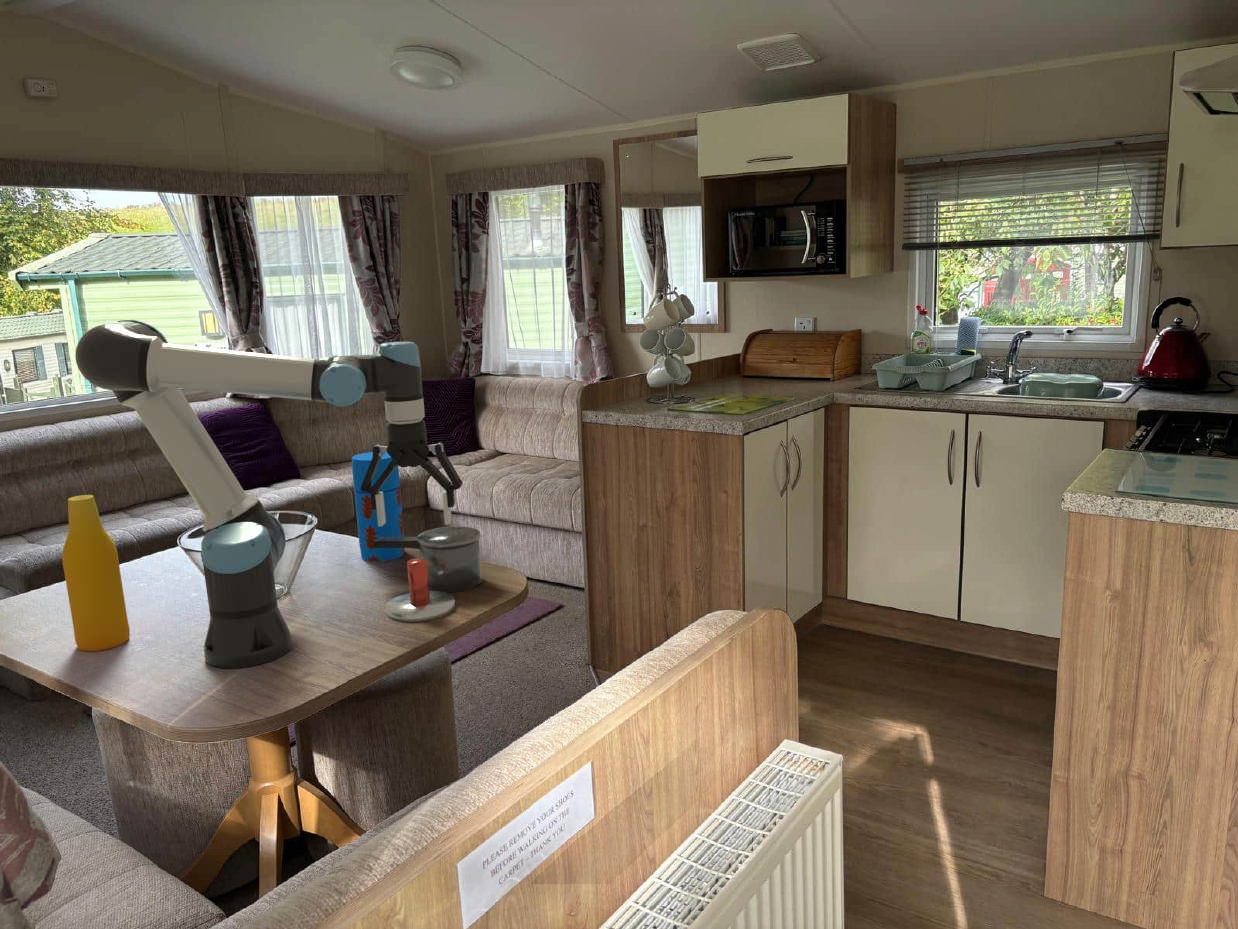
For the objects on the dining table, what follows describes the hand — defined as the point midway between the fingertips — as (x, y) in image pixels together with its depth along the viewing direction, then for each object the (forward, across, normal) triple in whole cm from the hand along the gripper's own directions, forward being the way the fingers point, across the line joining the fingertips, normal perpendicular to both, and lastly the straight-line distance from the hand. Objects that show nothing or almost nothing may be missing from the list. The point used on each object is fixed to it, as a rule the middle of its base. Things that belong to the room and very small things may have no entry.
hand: (415, 523), depth 188 cm
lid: (+18, 0, 0) cm, 18 cm away
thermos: (+18, +19, -37) cm, 46 cm away
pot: (+18, +2, -16) cm, 24 cm away
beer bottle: (+18, +58, +16) cm, 63 cm away
